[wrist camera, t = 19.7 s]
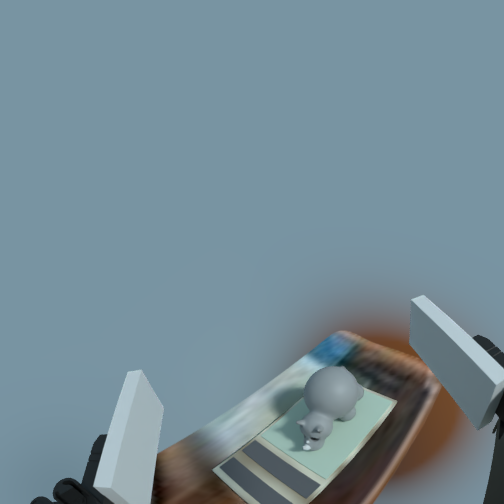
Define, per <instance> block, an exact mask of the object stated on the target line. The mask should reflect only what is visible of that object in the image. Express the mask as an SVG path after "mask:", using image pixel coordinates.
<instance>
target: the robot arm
mask: <svg viewBox="0 0 504 504" xmlns="http://www.w3.org/2000/svg"><path fill="white" fill-rule="evenodd" d="M409 344H410V345H411V346H412V348H413V349H414V350H415V351H416V353H417V354H418V355H419V356H420V357H421V359H422V360H423V361H424V362H425V364H426V365H427V366H428V367H429V368H430V370H431V371H432V372H433V373H434V375H435V376H436V377H437V378H438V380H439V381H440V382H441V383H442V385H443V386H444V387H445V388H446V390H447V391H448V392H449V394H450V395H451V396H452V397H453V399H454V400H455V401H456V403H457V404H458V405H459V407H460V408H461V409H462V410H463V412H464V413H465V414H466V416H467V417H468V418H469V420H470V421H471V422H472V424H473V425H474V427H475V428H476V429H477V430H479V429H481V428H482V427H484V426H486V425H487V424H488V423H490V422H491V421H492V419H493V417H494V414H495V413H496V414H497V415H498V417H499V419H498V421H497V423H496V425H495V427H494V429H493V432H492V433H495V431H496V429H497V432H496V440H495V447H494V454H493V460H492V465H491V471H490V476H489V481H488V485H487V490H486V494H485V498H484V502H483V504H504V353H503V352H501V350H500V349H499V348H497V347H495V345H494V344H493V343H492V342H491V341H490V340H489V339H487V338H485V337H482V336H480V335H477V336H475V337H473V338H471V337H470V336H469V335H468V334H467V333H466V332H465V331H464V330H463V329H462V328H460V327H459V326H458V325H457V324H456V323H455V322H454V321H453V320H452V319H451V318H449V317H448V316H447V315H446V314H445V313H444V312H443V311H442V310H440V309H439V308H438V307H437V306H436V305H435V304H433V303H432V302H431V301H430V300H429V299H428V298H427V297H425V296H424V295H422V296H420V297H417V298H414V299H412V300H411V317H410V340H409ZM163 411H164V407H163V406H162V404H161V402H160V401H159V399H158V398H157V396H156V394H155V392H154V391H153V389H152V387H151V385H150V384H149V382H148V380H147V378H146V377H145V375H144V373H143V371H142V370H137V371H130V372H128V373H127V376H126V379H125V382H124V385H123V388H122V391H121V394H120V397H119V400H118V403H117V406H116V409H115V412H114V415H113V418H112V422H111V425H110V428H109V432H108V434H106V435H100V436H99V437H98V438H97V440H96V441H95V442H94V444H93V447H92V450H91V455H90V456H89V462H88V463H87V466H86V470H85V473H84V476H83V480H82V483H81V484H80V483H79V482H77V481H76V480H74V479H72V478H65V479H62V480H60V481H59V482H58V483H57V484H56V486H55V487H54V490H53V497H54V499H55V500H56V501H58V502H51V501H50V500H49V499H48V498H46V497H37V498H35V499H34V500H33V501H32V502H31V504H150V502H151V494H152V486H153V478H154V470H155V463H156V456H157V449H158V442H159V436H160V429H161V423H162V417H163Z"/></svg>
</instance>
